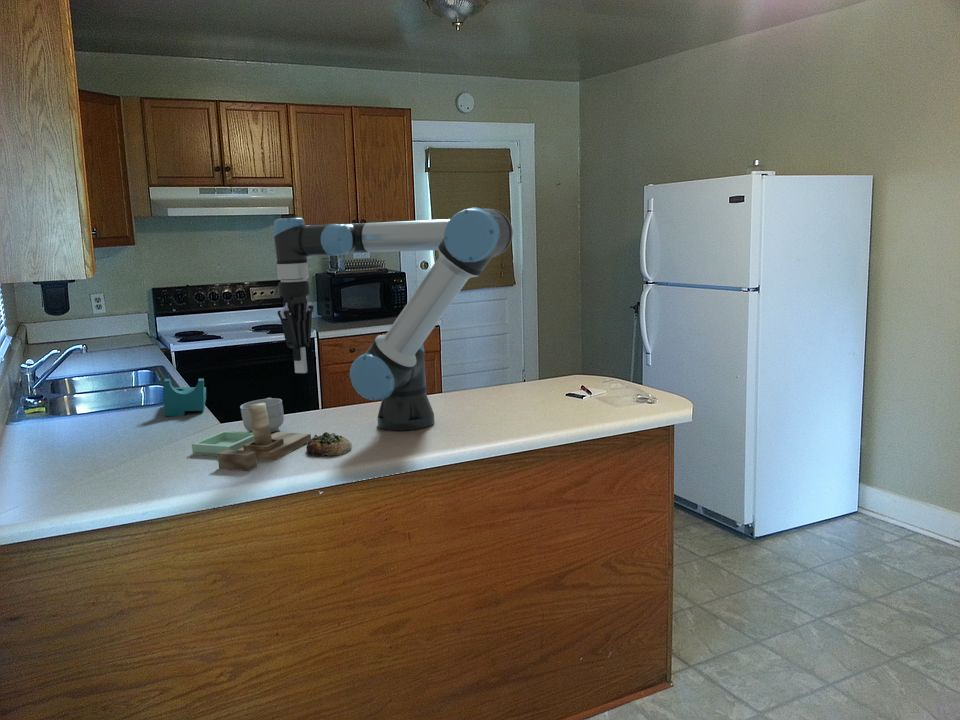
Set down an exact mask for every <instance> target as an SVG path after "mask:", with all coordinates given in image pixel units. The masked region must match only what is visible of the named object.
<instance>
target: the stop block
mask: <svg viewBox="0 0 960 720" xmlns="http://www.w3.org/2000/svg"><path fill="white" fill-rule="evenodd" d="M217 454H218V456H217V462H218V469H222V470H223V469H225V470H233V471H234V470H235V471H236V470H237V471H248V472H249V471H251V470H253V469H255V468H257V466H258V463H257V459H256V452H253V451H239V450H224V451H222V452H219V453H217Z"/></svg>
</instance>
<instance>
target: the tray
mask: <svg viewBox="0 0 960 720" xmlns="http://www.w3.org/2000/svg"><path fill="white" fill-rule="evenodd" d="M251 441H254V436H253V433H251V432H250V431H230V430H222V431H221V432H217V433H215V434H213V435H210V436H208V437H206V438H203V439H201V440H199V441H195V442H193V443H191V451H192V455H198V454H200V455H201V456H202V455H203V456H211V455H213V456H215V457H218V454H217V453H219V452H222V451H224V450H238V449H240V448H243V445H245V444H247V443H249V442H251ZM200 455H199V456H200ZM213 456H212V457H213Z"/></svg>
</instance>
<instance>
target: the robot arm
mask: <svg viewBox="0 0 960 720" xmlns="http://www.w3.org/2000/svg"><path fill="white" fill-rule="evenodd" d="M273 221H274V222H273V239H274V248H275V257H276V268H277V269H276V270H277V279H278V280H280V281H279V282H278V294H279V296H280V297H281V298H283V303H282V307H283V308H282V309H281V310H277V315H278V318H279V319H280V324H281V327H282V332H283V337H284V340H285V344H286V347H287V348H289V349H292V357H293V362H294V363H293V364H294V374H307V373H308V361H307V347H310V344H311V337H312V320H313V312H314V305H313V304H310V305H309V303H308V298H307V296H309V295H310V293H311V292H310V290H311V289H310V282H309V280H307V279H309V275H310V274H309V266H308V257H312V256H313V257H315V256H317V257H318V256H319V257H320V256H321V257H323V256H325V257H326V256H332V257H336V256H345V255H347V254H356V253H357V254H360V253H362V254H363V253H364V254H366V253H367V254H368V253H382V252H383V253H386V252H387V253H388V252H390V253H391V252H417V251H418V252H421V251H422V252H424V251H425V252H426V251H437V252H438V257H437V259H436V261H435V262H434V263H433V265H431V268H430V269H429V270H428V272H427V274H426V275H425V277H423V280H422V281H421V282H420V284H419V285H418V287H417V288H416V290H415V291H414V292H413V294H412V296H411V297H410V298H409V300H408V301H407V303H406V304H405V306H404V307H403V309H402V310H401V311H400V313H399V314H398V316H397V318H396V319H395V320H394V322H393V323H392V325H391V326H390V328H389V329H388V331H387V332H386V334H379V335H377V336H376V337H375V338H374V340H373V342H372V343H371V344H370V345H369V346H368V349H366V351H365V353H362V354H361V355H359V356H358V357H356V359H355V360H354V361H353V362H352V364H351V366H350V368H349V378H350V381H351V384H352V385H351V386H352V387H353V389H354V390H355V391H356V393H358V395H360V397H363V398H364V399H367V400H370V401H380V400H381V401H380V407H379V411H378V413H377V427H378V428H380V429H382V430H386V431H396V432H397V431H412V430H420V429H423V428H427V427H430V426H432V425H433V424H435V413H434V410H433V407H432V405H431V403H430V400H429V397H428V395H427V382H426V380H427V379H426V363H425V362H426V360H425V357H426V356H425V352H426V351H425V347H424V343H425V341H426V340H427V338H428V337H429V336H430V334H431V333H432V331H433V330H434V329H435V327H436V325H438V323H439V321H440V320H441V319H442V318H443V315H445V313H446V312H447V310H448V309H449V307H450V305H452V303H453V302H454V300H455V299H456V297H457V296H458V295H459V293H460V292H461V290H462V289H463V288H464V287H465V284H466V283H467V282H468V280H469V279H472V278H476V277H479V276H480V274H481V273H482V272H483V271H484V269H486V266H487V265H488V264H489V262H490V261H491V259H493V258H496V257H498V256H501V255H502V254H504V253H505V252H506V251H507V250H508V248H509V247H510V245H511V244H512V242H513V235H514V232H513V231H514V230H513V229H514V228H513V225H512V223H511V220H510V219H509V218H508V216H506V214H504V213H503V212H501V211H500V210H497V209H494V208H480V207H469V208H468V207H467V208H465V209H463V210H461V211H458V212H457V213H455V214H454V215H452V217H451V218H448V219H445V218H444V219H428V220H427V219H426V220H422V219H421V220H406V221H405V220H404V221H384V222H366V223H365V222H359V223H356V222H353V223H341V224H340V223H327V224H314V225H306V223H305V220H304V218H303V217H289V218H288V217H287V218H286V217H285V218H277V219H274V220H273Z"/></svg>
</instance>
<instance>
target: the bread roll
mask: <svg viewBox="0 0 960 720" xmlns="http://www.w3.org/2000/svg"><path fill="white" fill-rule="evenodd" d="M352 445H353V444H352V442H351V440H349V439H348V438H346V437H344V436H342V435H339V434H338V435H337V434H336V433H334V432H332V433H330V432H327V431H325V432H323V434H322V435H317V434H315V435H314V436H312V437H311V440H310V441H309V442H308V443H307V444H306V451H307V455H309V456H314V457H325V455H326V456H328V457H333V456H340V455H345V454H346V453H348V452H349V451H350V450H351V448H352Z"/></svg>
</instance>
